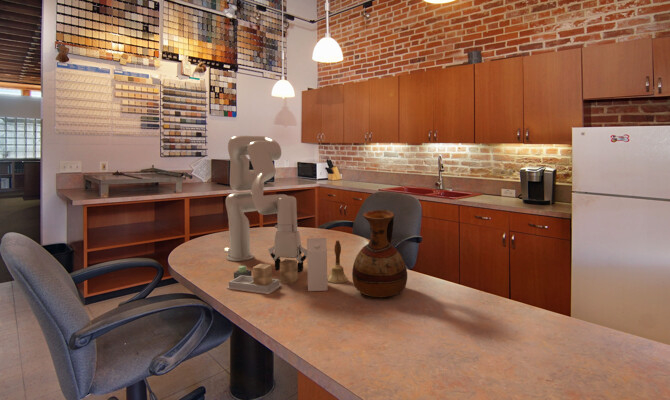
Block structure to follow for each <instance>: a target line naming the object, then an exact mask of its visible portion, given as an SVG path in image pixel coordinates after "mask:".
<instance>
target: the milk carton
mask: <svg viewBox="0 0 670 400" xmlns="http://www.w3.org/2000/svg"><path fill="white" fill-rule="evenodd" d="M327 248H328V247H327V238H326V237H316V238H314V237H312V238H311V237H310V238H306V250H307V258H306V261H307V262H306V263H307V291H308V292H317V291H318V292H321V291H323V292H324V291H328V281H327V279H328V249H327Z"/></svg>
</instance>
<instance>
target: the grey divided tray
mask: <svg viewBox="0 0 670 400" xmlns="http://www.w3.org/2000/svg"><path fill="white" fill-rule="evenodd" d="M281 287H282V285H281V284H280V278H279V279H278V278H272V283H271V284H269V285H268V286H264V285H256V284H253V275H252V276H244V275H241V276H239V277H237V278H235V279H234V278H233V279H231V280H229V281H228V286H227V287H226V289H229V290H235V291H244V292H250V293H258V294H264V295H265V294H266V295H270V294H272V293H273V292H275V291H276V290H277V289H279V288H281Z"/></svg>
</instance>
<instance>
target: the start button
mask: <svg viewBox="0 0 670 400" xmlns="http://www.w3.org/2000/svg"><path fill="white" fill-rule="evenodd" d="M238 270H239V273H245V272H246V270H247V266H246V265H240V266H238Z"/></svg>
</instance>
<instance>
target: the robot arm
mask: <svg viewBox="0 0 670 400" xmlns="http://www.w3.org/2000/svg"><path fill="white" fill-rule="evenodd" d="M227 143H228V144H227V153H228V156H229V161H230V165H229V167H230V170H229V187H230V188H231V190H233V191H238V192H232V193H230V194H228V195H227V196H226V198H225V208H226V212H227V218H228V234H229V235H228V236H229V237H228V239H229V247H225V248H224V250H223V253H224V254H227V255H226V259H227V260H228V261H231V262H245V261H249V260H251V259H253V258H254V257H255V255H254V253H252V252H251V239H250V237H251V236H250V234H251V233H250V220H249V219H248V217H247V216H246V215H245V213H249V212H258V213H259V214H260V215H264V216H265V215H266V216H267V215H273V214H276V215H277V224H275V225H274V228H275V229H277V230H276V231H275V234H274V235H275V236H274V245H273V246H272V247H270V248H268V252H269V254H270V257H271V258H272V260H273V261H274V268H275V271H277V272H278V271H280V262H281V261H282V260H281V259H280V258H282V259H283V258H284V259H295V260H297V274H298V273H299V274H300V273H302V272H303V271H304V261H305V260H307V248H305V247H303V246H302V239H301V234H300V232H299V230H298V214H297V213H298V211H297V198H296V197H295V196H293V195H287V194H284V193H283V194H281V193H279V194H270V195H269V194H268V195H264V189H265V188H264V187H265V184H264V183H265V182H267V181H269V180H270V179H273V177H275V175H276V173H277V172H276V171H277V170H276V167H275V164H274V162H273V161H277V160H279V159H280V158H281V156H282V147H281V145H280V144H279V143H278V142H277V140H274V139H272V138H269V137H267V136H263V135H236V136H231V137H230V139H229V140H228V142H227ZM248 157H249V158H248ZM250 163H251V165H252V169H250ZM239 191H240V192H239ZM242 191H243V192H242ZM245 191H246V192H245ZM302 253H303V255H302Z"/></svg>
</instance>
